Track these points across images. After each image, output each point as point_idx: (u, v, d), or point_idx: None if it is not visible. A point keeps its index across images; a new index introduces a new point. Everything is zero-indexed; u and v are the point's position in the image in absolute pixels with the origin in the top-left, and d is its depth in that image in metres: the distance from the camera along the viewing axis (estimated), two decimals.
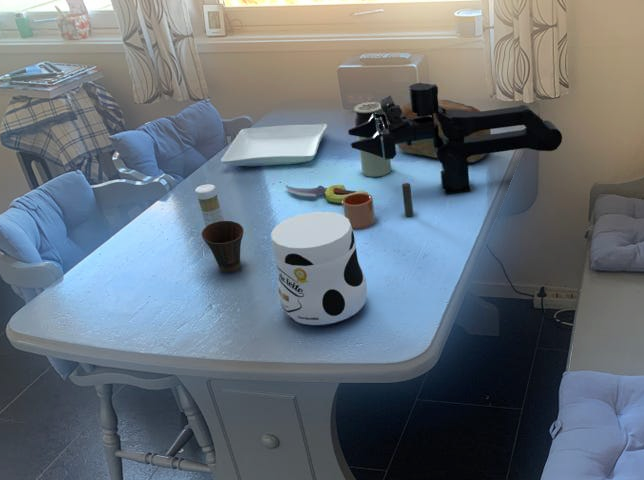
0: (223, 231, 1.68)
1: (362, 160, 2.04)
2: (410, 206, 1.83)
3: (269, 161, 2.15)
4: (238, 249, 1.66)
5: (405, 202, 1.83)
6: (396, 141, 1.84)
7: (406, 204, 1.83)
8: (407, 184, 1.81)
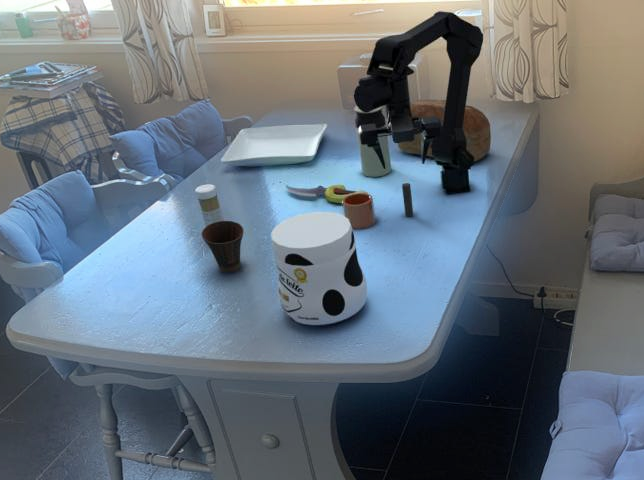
0: (223, 231, 1.68)
1: (362, 160, 2.04)
2: (410, 206, 1.83)
3: (269, 161, 2.15)
4: (238, 249, 1.66)
5: (405, 202, 1.83)
6: None
7: (406, 204, 1.83)
8: (407, 184, 1.81)
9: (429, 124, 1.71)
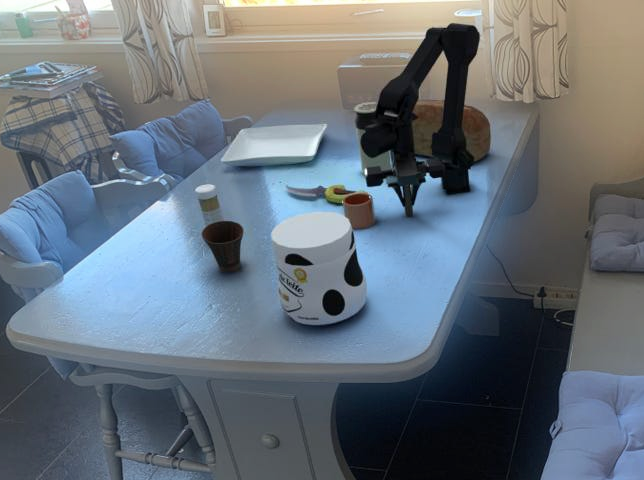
0: (223, 231, 1.68)
1: (362, 160, 2.04)
2: (410, 206, 1.83)
3: (269, 161, 2.15)
4: (238, 249, 1.66)
5: (405, 202, 1.83)
6: None
7: (406, 204, 1.83)
8: None
9: (433, 167, 1.77)
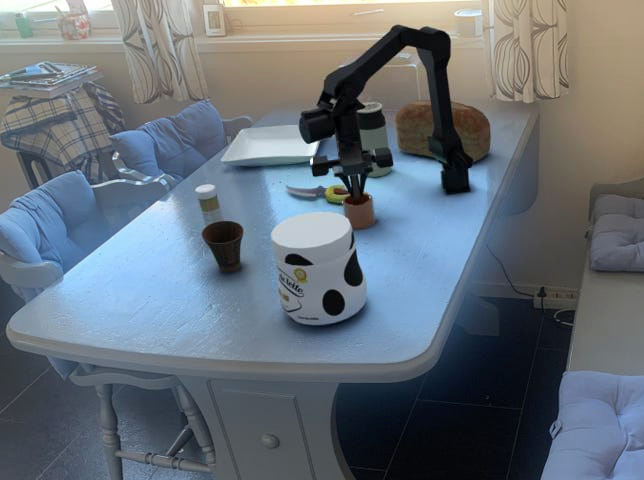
0: (223, 231, 1.68)
1: None
2: (358, 196, 1.79)
3: (269, 161, 2.15)
4: (238, 249, 1.66)
5: (353, 192, 1.79)
6: None
7: (354, 194, 1.79)
8: (355, 174, 1.77)
9: (380, 156, 1.73)
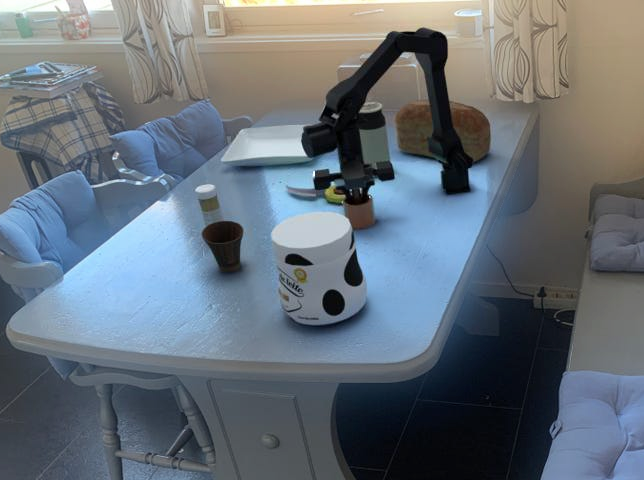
0: (223, 231, 1.68)
1: None
2: None
3: (269, 161, 2.15)
4: (238, 249, 1.66)
5: None
6: None
7: None
8: None
9: (381, 170, 1.75)
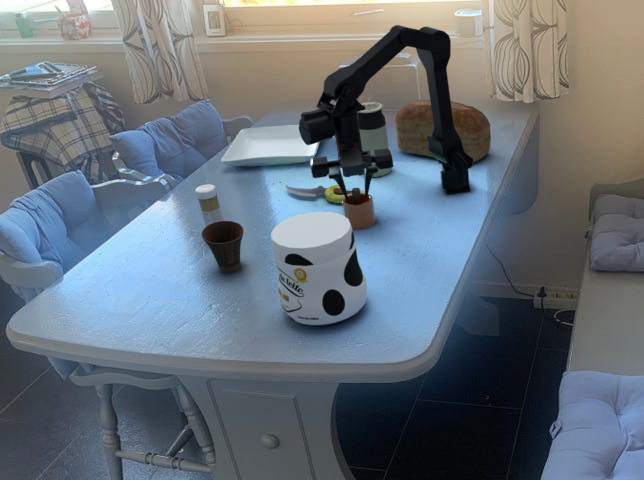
0: (223, 231, 1.68)
1: None
2: None
3: (269, 161, 2.15)
4: (238, 249, 1.66)
5: None
6: None
7: None
8: (357, 189, 1.79)
9: (380, 157, 1.73)
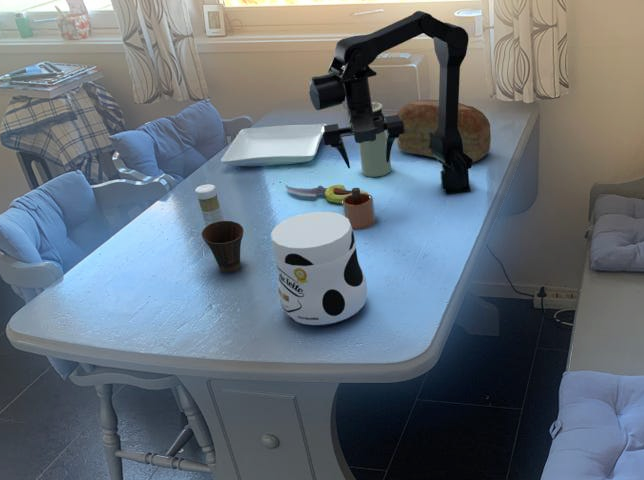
0: (223, 231, 1.68)
1: (362, 160, 2.04)
2: None
3: (269, 161, 2.15)
4: (238, 249, 1.66)
5: None
6: None
7: None
8: (357, 189, 1.79)
9: (391, 123, 1.73)
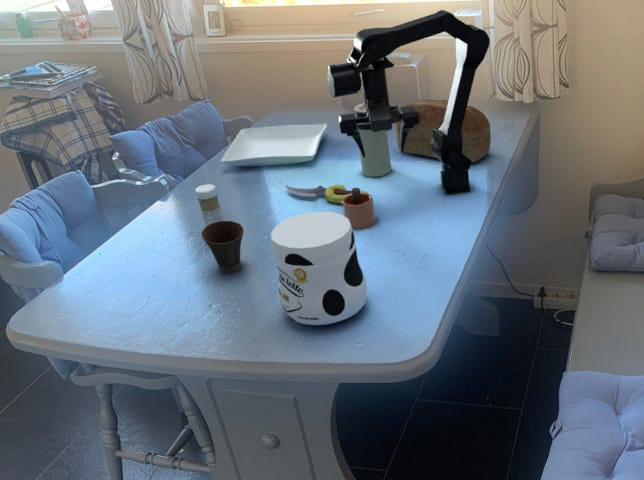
0: (223, 231, 1.68)
1: (362, 160, 2.04)
2: None
3: (269, 161, 2.15)
4: (238, 249, 1.66)
5: None
6: None
7: None
8: (357, 189, 1.79)
9: (407, 114, 1.77)
